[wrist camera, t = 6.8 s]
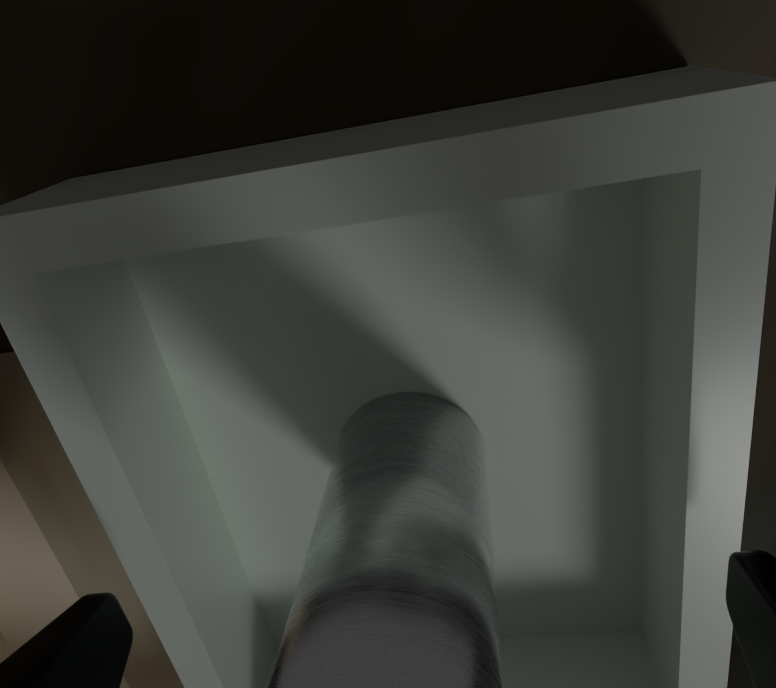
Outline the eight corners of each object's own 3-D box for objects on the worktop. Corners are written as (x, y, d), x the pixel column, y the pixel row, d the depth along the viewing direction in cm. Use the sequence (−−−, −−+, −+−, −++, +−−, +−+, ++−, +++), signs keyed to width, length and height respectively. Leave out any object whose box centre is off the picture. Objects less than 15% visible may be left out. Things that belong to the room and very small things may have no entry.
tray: (671, 629, 14) (719, 758, 12) (259, 649, 16) (223, 765, 13) (690, 65, 9) (785, 79, 6) (69, 178, 10) (-50, 224, 8)
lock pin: (520, 524, 12) (614, 1211, 5) (336, 537, 13) (186, 1164, 6) (502, 356, 11) (601, 1015, 3) (292, 379, 11) (4, 978, 4)
